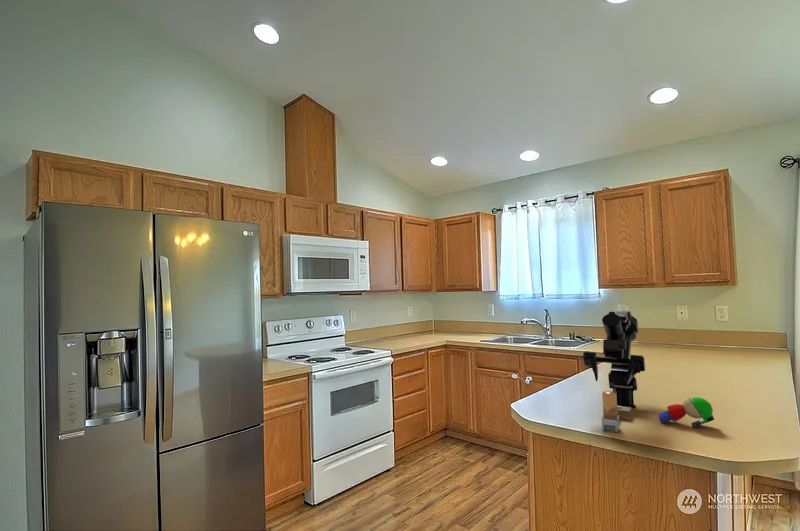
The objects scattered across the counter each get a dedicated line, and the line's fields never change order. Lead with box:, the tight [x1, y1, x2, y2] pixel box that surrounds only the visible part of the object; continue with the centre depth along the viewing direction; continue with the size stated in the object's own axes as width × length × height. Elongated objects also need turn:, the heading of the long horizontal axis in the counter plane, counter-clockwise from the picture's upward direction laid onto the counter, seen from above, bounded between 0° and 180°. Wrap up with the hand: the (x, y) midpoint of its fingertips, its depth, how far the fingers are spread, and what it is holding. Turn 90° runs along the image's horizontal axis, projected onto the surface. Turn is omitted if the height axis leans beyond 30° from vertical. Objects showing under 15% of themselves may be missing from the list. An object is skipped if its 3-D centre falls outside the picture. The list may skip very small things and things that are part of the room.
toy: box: [657, 396, 715, 429], centre depth 135 cm, size 8×8×15 cm
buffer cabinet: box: [617, 406, 633, 421], centre depth 145 cm, size 5×8×3 cm, turn 56°
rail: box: [605, 414, 622, 433], centre depth 136 cm, size 15×2×2 cm, turn 146°
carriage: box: [601, 390, 621, 433], centre depth 132 cm, size 5×4×11 cm
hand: (611, 382), depth 140 cm, fingers open, 9 cm apart
